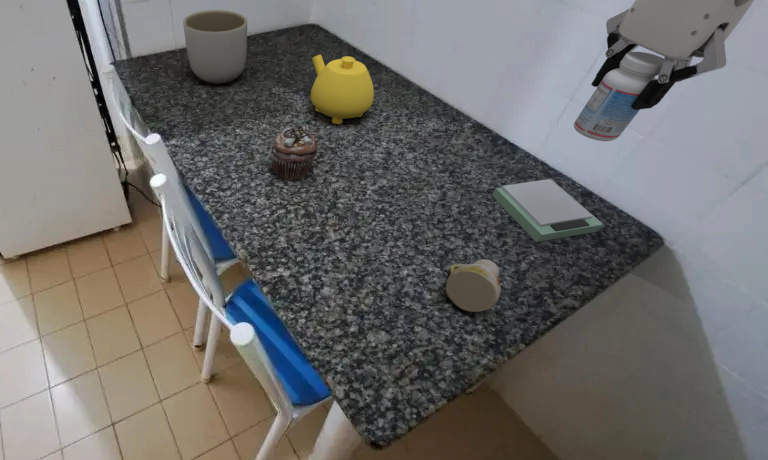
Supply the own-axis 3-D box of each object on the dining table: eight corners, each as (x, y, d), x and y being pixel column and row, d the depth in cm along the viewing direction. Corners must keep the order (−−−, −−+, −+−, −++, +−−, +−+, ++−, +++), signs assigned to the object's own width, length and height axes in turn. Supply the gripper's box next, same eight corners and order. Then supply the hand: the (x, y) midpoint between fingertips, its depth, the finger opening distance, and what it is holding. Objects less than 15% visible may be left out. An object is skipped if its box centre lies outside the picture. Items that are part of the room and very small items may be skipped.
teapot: (287, 99, 106) (291, 47, 96) (332, 85, 111) (340, 35, 101) (334, 134, 94) (344, 78, 84) (382, 117, 100) (396, 63, 90)
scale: (596, 231, 72) (605, 222, 70) (535, 242, 70) (543, 232, 68) (546, 187, 81) (553, 177, 79) (491, 195, 79) (497, 185, 77)
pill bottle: (625, 135, 59) (684, 61, 51) (603, 147, 57) (661, 71, 49) (585, 117, 63) (634, 46, 55) (563, 127, 61) (611, 54, 53)
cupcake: (303, 152, 88) (308, 112, 81) (320, 178, 82) (327, 137, 75) (263, 159, 87) (264, 118, 79) (277, 186, 80) (279, 145, 73)
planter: (182, 87, 109) (175, 29, 98) (197, 62, 121) (192, 8, 110) (242, 92, 108) (241, 34, 97) (251, 66, 120) (251, 11, 109)
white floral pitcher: (504, 282, 64) (534, 273, 55) (461, 322, 64) (484, 319, 54) (468, 250, 66) (490, 235, 57) (426, 288, 66) (442, 280, 57)
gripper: (854, -40, 38) (699, 125, 51) (684, -73, 49) (593, 68, 62) (795, -37, 37) (652, 131, 50) (635, -71, 48) (553, 72, 61)
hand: (620, 95), depth 56 cm, fingers closed on pill bottle, 6 cm apart
